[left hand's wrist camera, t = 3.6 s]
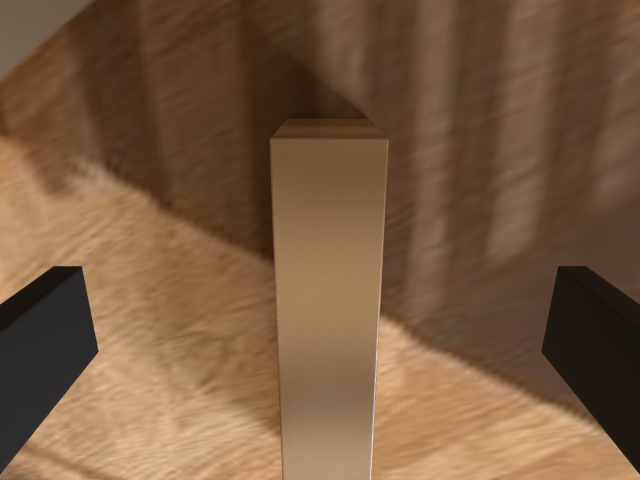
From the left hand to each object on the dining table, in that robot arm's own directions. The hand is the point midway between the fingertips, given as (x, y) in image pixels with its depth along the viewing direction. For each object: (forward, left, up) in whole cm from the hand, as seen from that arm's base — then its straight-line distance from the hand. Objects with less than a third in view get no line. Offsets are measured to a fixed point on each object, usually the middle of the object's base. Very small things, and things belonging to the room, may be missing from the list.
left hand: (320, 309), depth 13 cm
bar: (+4, +7, -15) cm, 17 cm away
